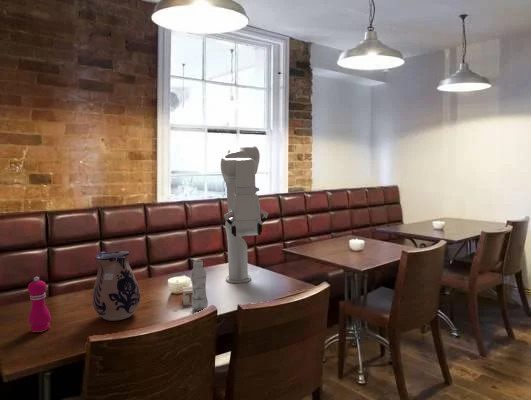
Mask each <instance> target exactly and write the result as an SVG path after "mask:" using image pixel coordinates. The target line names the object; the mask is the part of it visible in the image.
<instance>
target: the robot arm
mask: <svg viewBox="0 0 531 400" xmlns="http://www.w3.org/2000/svg"><path fill="white" fill-rule="evenodd" d="M260 155H261V154H260V151H259V148H258V147H257V146H255V145H235V146H232V147H230V148H229V149H228V151H227V153H226V154H224V155H223V156H222V157H221V159H220V171H221V174H222V178H223V181H224V183H225V186H226V204H227V211H228V212H226V213H225V214H224V215H223V217H224V219H225V223H224V224H225V226H224V227H225V233H226V239H227V257H228V258H227V263H228V275H227V276H226V277H225V281H226V282H227V283H231V284H243V283H247V282H250V281H251V280H252V276H251V275H250V274H248V273H249V270H248V268H249V267H248V266H249V265H248V244H247V241H245V239H244V238H243V237H246V236H258V235H259V236H261V235H262V232H263V223H264V222H266V221H267V218H268V216H269V212H267V211H266V210H264V209H261V204H260V198H259V196H258V194H257V192H259V191H260V187H257V186H256V174H257V173H258V169H259V164H260V159H261V158H260V157H261V156H260ZM261 214H262V215H263V216H262V217H261ZM231 216H232V217H231Z"/></svg>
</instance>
